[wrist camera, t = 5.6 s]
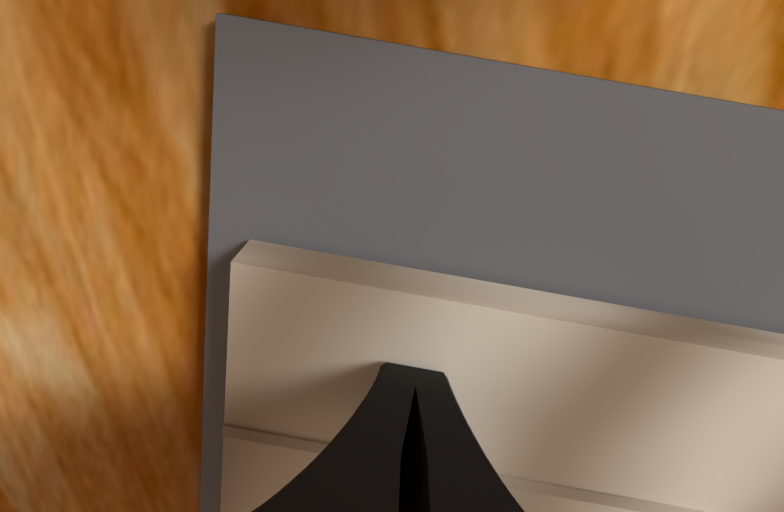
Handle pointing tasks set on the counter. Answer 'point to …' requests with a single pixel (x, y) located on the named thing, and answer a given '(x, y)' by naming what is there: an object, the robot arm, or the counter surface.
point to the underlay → (485, 181)
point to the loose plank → (503, 384)
